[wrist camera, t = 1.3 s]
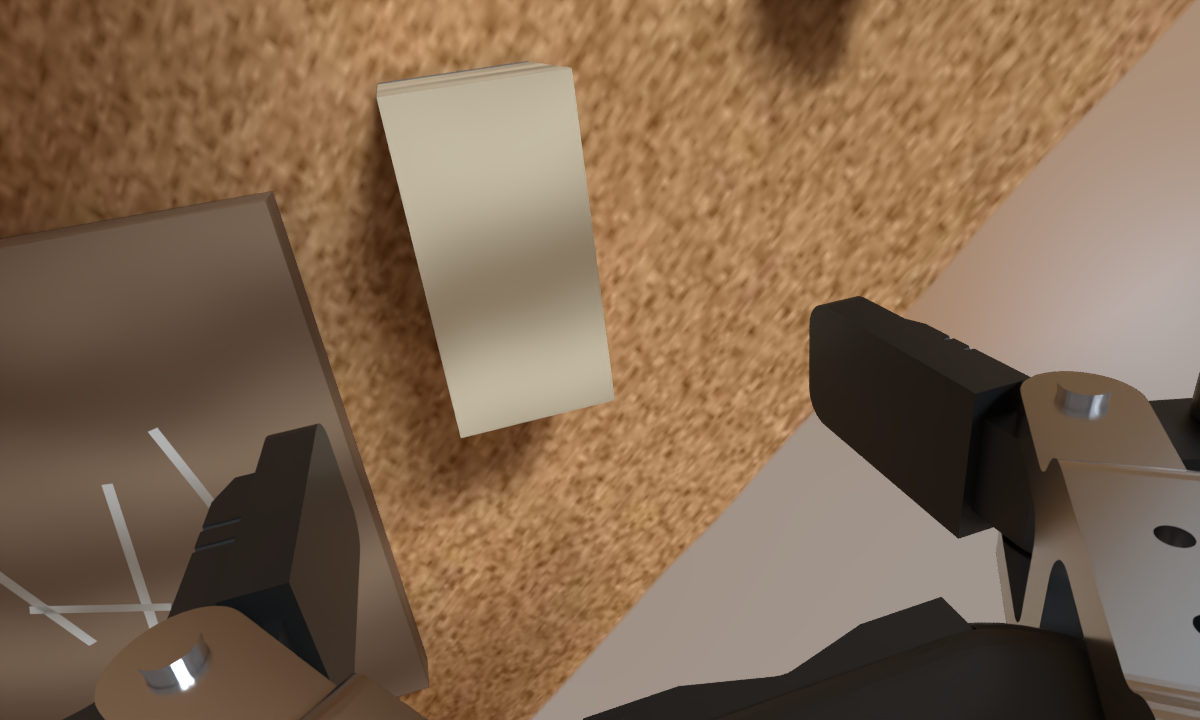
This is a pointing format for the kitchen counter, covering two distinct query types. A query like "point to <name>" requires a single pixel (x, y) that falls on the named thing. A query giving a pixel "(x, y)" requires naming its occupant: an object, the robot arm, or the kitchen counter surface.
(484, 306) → the block
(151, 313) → the walnut board
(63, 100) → the kitchen counter surface
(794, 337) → the kitchen counter surface
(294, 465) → the robot arm
